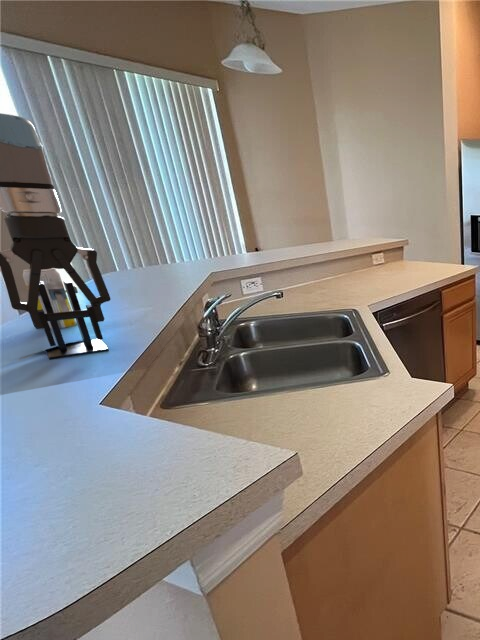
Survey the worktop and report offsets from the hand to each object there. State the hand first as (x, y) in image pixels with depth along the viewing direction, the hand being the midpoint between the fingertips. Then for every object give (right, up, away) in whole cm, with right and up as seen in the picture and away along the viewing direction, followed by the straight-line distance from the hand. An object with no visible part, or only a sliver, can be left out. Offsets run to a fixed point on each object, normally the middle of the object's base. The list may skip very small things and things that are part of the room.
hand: (76, 341), depth 86 cm
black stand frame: (-7, -2, +7) cm, 10 cm away
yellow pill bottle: (-25, +4, +22) cm, 34 cm away
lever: (-4, +7, +1) cm, 8 cm away
